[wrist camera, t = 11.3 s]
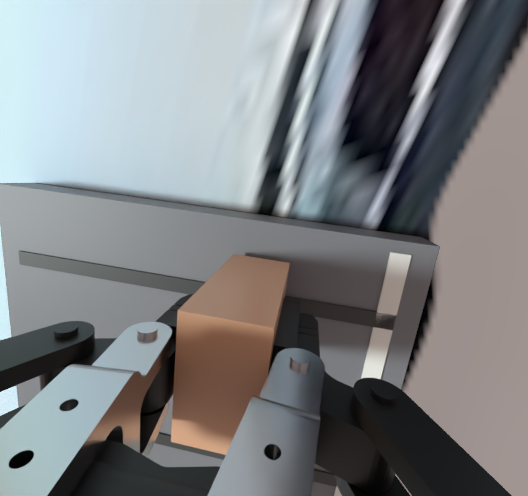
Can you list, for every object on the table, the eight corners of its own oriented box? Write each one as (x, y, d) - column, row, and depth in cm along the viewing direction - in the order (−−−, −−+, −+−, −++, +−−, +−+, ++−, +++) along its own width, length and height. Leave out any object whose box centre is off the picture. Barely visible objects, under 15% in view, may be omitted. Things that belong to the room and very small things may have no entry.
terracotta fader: (225, 337, 14) (170, 441, 8) (233, 254, 13) (177, 310, 7) (277, 347, 13) (255, 462, 8) (289, 262, 12) (274, 327, 7)
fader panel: (51, 425, 20) (21, 453, 18) (34, 183, 16) (-6, 183, 14) (354, 499, 18) (360, 541, 16) (421, 236, 14) (441, 247, 12)
